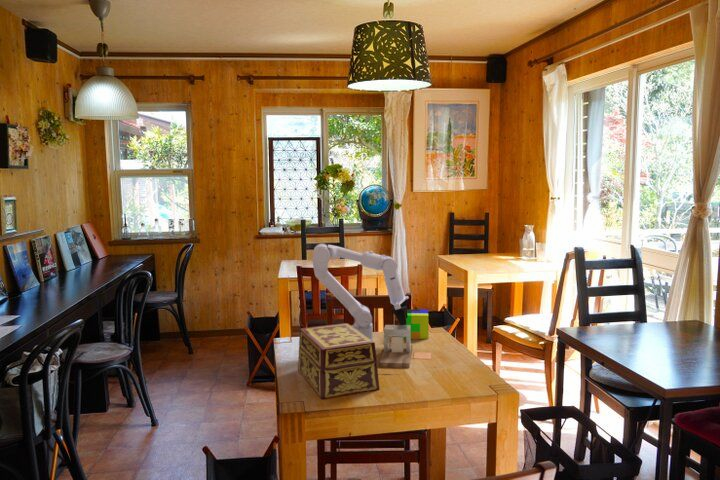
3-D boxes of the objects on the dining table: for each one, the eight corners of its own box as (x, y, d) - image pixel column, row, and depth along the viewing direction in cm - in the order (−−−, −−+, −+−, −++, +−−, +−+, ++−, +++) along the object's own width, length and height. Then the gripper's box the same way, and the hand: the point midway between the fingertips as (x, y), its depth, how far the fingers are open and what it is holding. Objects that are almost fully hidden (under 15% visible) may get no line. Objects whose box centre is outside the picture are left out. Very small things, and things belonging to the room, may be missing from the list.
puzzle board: (379, 368, 188) (379, 362, 188) (385, 349, 208) (385, 344, 208) (409, 369, 187) (409, 363, 187) (412, 350, 207) (412, 345, 206)
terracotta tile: (413, 360, 196) (413, 358, 196) (414, 353, 203) (414, 352, 203) (430, 360, 195) (430, 358, 195) (431, 354, 202) (431, 352, 202)
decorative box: (297, 370, 188) (296, 327, 187) (349, 363, 195) (348, 321, 193) (321, 400, 163) (320, 350, 161) (380, 390, 170) (379, 342, 168)
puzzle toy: (427, 333, 230) (427, 309, 229) (428, 340, 220) (428, 315, 219) (403, 332, 231) (403, 309, 230) (403, 339, 221) (402, 315, 220)
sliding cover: (384, 352, 199) (383, 329, 198) (385, 347, 205) (385, 324, 204) (409, 352, 198) (409, 329, 197) (410, 347, 204) (410, 325, 203)
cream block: (391, 355, 200) (391, 336, 199) (392, 352, 204) (392, 333, 203) (402, 356, 199) (402, 337, 198) (403, 352, 203) (403, 333, 202)
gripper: (403, 290, 201) (413, 325, 202) (406, 280, 215) (415, 313, 217) (385, 294, 202) (395, 329, 204) (388, 285, 216) (397, 317, 218)
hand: (404, 321), depth 210 cm, fingers open, 7 cm apart
